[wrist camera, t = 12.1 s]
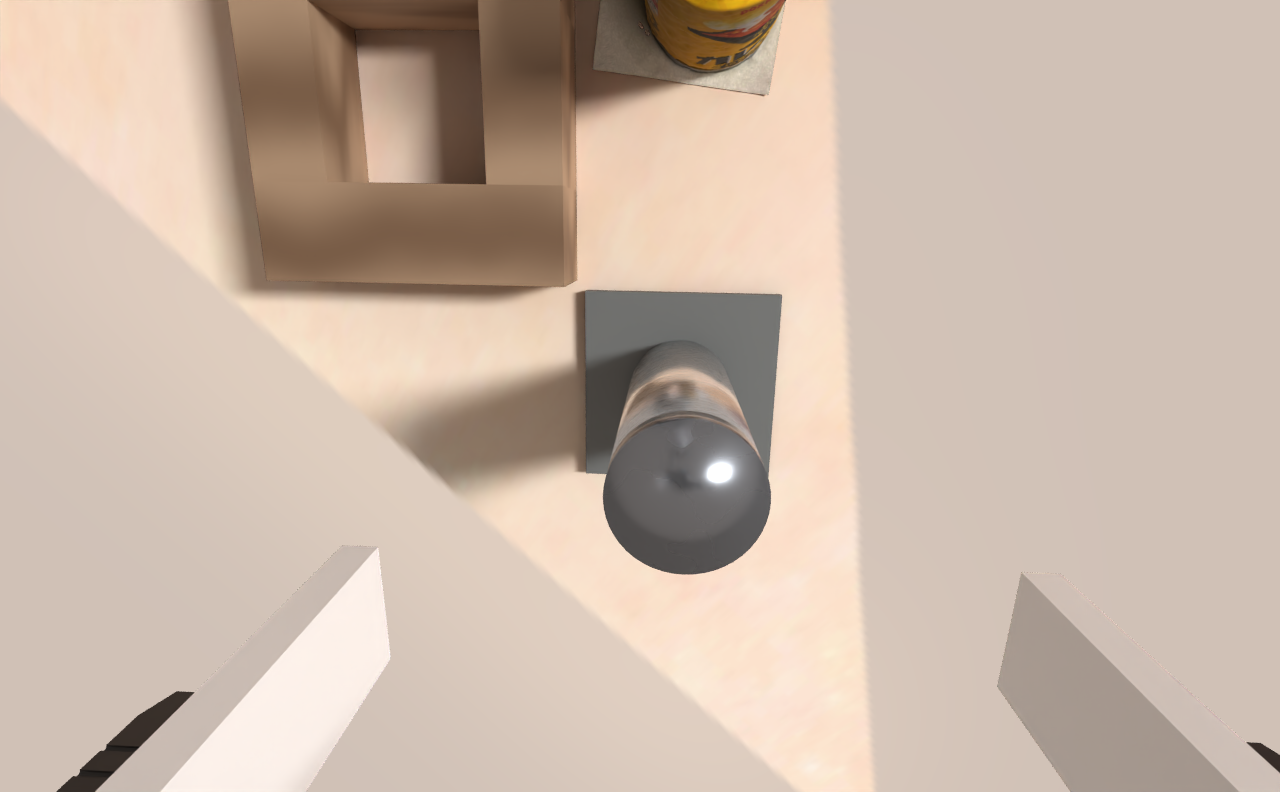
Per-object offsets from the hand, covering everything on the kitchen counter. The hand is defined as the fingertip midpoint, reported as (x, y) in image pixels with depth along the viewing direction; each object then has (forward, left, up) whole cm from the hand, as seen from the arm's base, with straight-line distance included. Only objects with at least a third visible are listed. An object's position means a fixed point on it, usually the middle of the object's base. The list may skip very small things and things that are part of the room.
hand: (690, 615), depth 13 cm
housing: (-13, -12, -21) cm, 28 cm away
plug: (0, 0, -21) cm, 21 cm away
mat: (0, 0, -21) cm, 21 cm away
